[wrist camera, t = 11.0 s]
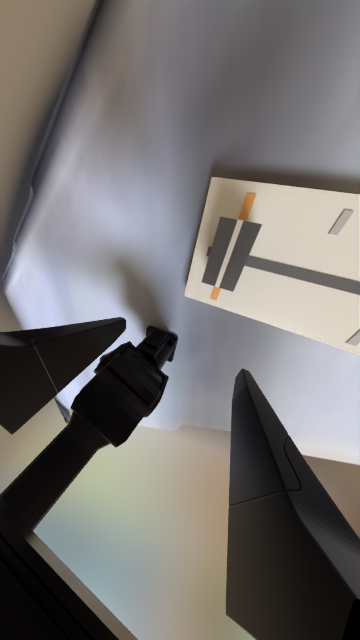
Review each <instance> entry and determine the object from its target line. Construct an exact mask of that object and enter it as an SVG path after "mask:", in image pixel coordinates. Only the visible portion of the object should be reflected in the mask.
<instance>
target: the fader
mask: <svg viewBox="0 0 360 640" xmlns="http://www.w3.org/2000/svg"><path fill="white" fill-rule="evenodd" d="M261 226H262V224H259V223H253V222H248V221H243V220H237V219H231V218H226V217H221V216H220V219H219V223H218V226H217V230H216V233H215V237H214V240H213V244H212V247H211V251H210V254H209V257H208V261H207V264H206V268H205V271H204V275H203V278H202V283H205V284H209V285H212V286H215V287H218V288H222V289H225V290H228V291H232V292H233V291H234V289H235V287H236V284H237V282H238V280H239V277H240V275H241V273H242V270H243V268H244V266H245V263H246V261H247V259H248V256H249V254H250V252H251V249H252V247H253V245H254V242H255V240H256V238H257V235H258V233H259V231H260V229H261Z"/></svg>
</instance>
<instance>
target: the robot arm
mask: <svg viewBox="0 0 360 640" xmlns="http://www.w3.org/2000/svg"><path fill="white" fill-rule="evenodd" d="M149 328H150V329H149ZM125 329H126V319H124V318H122V317H118V318H111V319H104V320H98V321H91V322H84V323H77V324H70V325H63V326H56V327H49V328H40V329H31V330H21V331H12V332H0V425H1V426H2V427H3V428H4V429H6V430H7V431H8V432H9V433H10V434H13V433H15V432H16V431H17V430H18V429H19V428H20V427H22V426H23V424H25V423H26V422H27V421H28V420H29V419H30V418H31V417H33V416H34V415H35V414H36V413H37V412H38V411H39V410H40V409H41V408H43V407H44V406H45V405H46V404H47V403H48V402H49V401H50V400H51V399H53V398H54V397H55V396H56V395H57V394H58V393H59V392H60V391H61V390H62V389H63V388H65V387H66V386H67V385H68V384H69V383H70V382H71V381H72V380H73V379H74V378H76V377H77V376H78V375H79V374H80V373H81V372H82V371H83V370H84V369H86V368H87V367H88V366H89V365H90V364H91V363H92V362H93V361H94V360H95V359H97V358H98V357H99V356H100V355H101V354H102V353H103V352H104V351H105V350H106V349H108V348H109V347H110V346H111V345H112V344H113V343H114V342H115V341H116V340H117V339H118V337H119V336H120V335H121V334H122V333H123V332H124V331H125ZM175 339H176V340H175ZM177 341H178V338H177V337H176V336H174V335H171V334H169V333H166V332H164V331H161V330H159V329H157V328H154V327H152V326H148V327H147V332H146V338H145V339H143V341H142V342H141V343H140V344H139V345H138V346H136V347H135V346H134V345H132V343H131V342H130V341H129V342H127V343H124V344H121V345H120V346H119V347H118V348H116V349H115V350H113V351H111V352H109V353H107V354H105V355H103V356H102V357H101V358H100V363H99V364H98V366H97V367H96V369H95V370H94V373H96V375H95V376H94V377H93V378H92V379H91V380H90V381H89V382H88V383H87V384H86V385H85V386H84V387H83V388H82V389H81V391H80V393H79V394H78V395H77V396H76V397H75V399H74V401H73V403H72V405H71V409H72V410H73V413H72V415H71V418H70V421H69V424H68V425H67V426H66V427H65V428H64V429H63V430H62V431H61V432H60V433H59V434H58V435H57V436H56V437H55V438H54V439H53V441H52V442H51V443H50V444H49V445H48V446H47V447H46V448H45V449H44V450H43V451H42V452H41V453H40V454H39V455H38V456H37V457H36V458H35V459H34V460H33V461H32V462H31V463H30V464H29V465H28V466H27V467H26V469H24V471H23V472H22V473H21V474H20V475H19V476H18V477H17V478H16V479H15V480H14V481H13V482H12V483H11V484H10V485H9V486H8V487H7V488H6V489H5V490H4V491H3V492H2V493H1V494H0V640H138V639H137V638H136V637H135V636H134V635H133V634H132V633H131V632H130V631H129V630H128V629H127V628H126V627H125V626H124V625H123V624H122V623H121V622H120V621H119V620H118V619H117V618H116V617H115V616H114V615H113V614H112V612H111V611H109V609H108V608H107V607H106V606H105V605H104V604H103V603H102V602H101V601H100V600H99V599H98V598H97V597H96V596H95V595H94V594H93V593H92V592H91V591H90V590H89V589H88V588H87V587H86V586H85V585H84V584H83V583H82V582H81V581H80V579H79V578H78V577H76V576H75V574H73V572H72V571H71V570H70V569H69V568H68V567H67V566H66V565H65V564H64V563H63V562H62V561H61V560H60V559H59V558H58V557H57V556H56V555H55V554H54V553H53V552H52V551H51V550H50V549H49V548H48V546H47V545H46V544H44V543H43V541H42V540H41V539H40V538H39V537H38V536H37V535H36V534H35V533H34V532H33V530H34V529H35V528H36V526H37V525H38V524H39V522H40V521H41V520H42V519H43V517H44V516H45V515H46V514H47V513H48V511H49V510H50V509H51V508H52V506H53V505H54V504H55V503H56V501H57V500H58V499H59V498H60V496H61V495H62V494H63V492H64V491H65V490H66V489H67V488H68V486H69V485H70V484H71V483H72V481H73V480H74V479H75V478H76V476H77V475H78V474H79V473H80V471H81V470H82V469H83V468H84V466H85V465H86V464H87V463H88V461H89V460H90V459H91V458H92V456H93V455H94V454H95V453H96V451H97V450H99V449H100V448H103V447H105V446H107V445H109V444H112V445H113V446H115V447H118V446H119V445H121V444H122V443H124V442H125V441H126V440H127V439H128V437H129V436H130V435H131V433H132V431H133V430H134V429H135V428H136V426H137V425H138V423H139V422H140V421H141V420H142V418H143V417H147V416H149V415H150V414H151V413H152V412H153V410H154V409H155V408H156V406H157V405H158V403H159V402H160V400H161V398H162V395H163V392H164V389H165V387H166V384H167V381H168V378H169V377H168V376H167V375H165V374H164V373H163V372H162V371H161V368H162V367H163V365H164V364H165V362H166V361H169V362H172V360H173V357H174V353H175V349H176V345H177ZM229 486H230V487H229V506H230V507H229V515H228V550H227V582H226V615H227V616H228V617H229V618H231V619H232V620H233V621H234V622H235V623H237V624H238V625H239V626H240V627H241V628H243V629H244V630H245V631H246V632H247V633H248V634H250V635H251V636H252V637H253V638H254V639H256V640H360V538H359V537H358V535H357V534H356V533H355V531H354V530H353V528H352V527H351V526H350V524H349V523H348V521H347V520H346V519H345V517H344V516H343V514H342V513H341V512H340V510H339V509H338V507H337V506H336V504H335V503H334V501H333V500H332V498H331V497H330V496H329V494H328V493H327V491H326V490H325V488H324V487H323V486H322V484H321V483H320V481H319V480H318V478H317V477H316V475H315V474H314V473H313V471H312V470H311V468H310V467H309V465H308V464H307V462H306V461H305V459H304V458H303V456H302V455H301V453H300V452H299V450H298V448H297V447H296V445H295V444H294V442H293V441H292V439H291V437H290V436H289V435H288V433H287V431H286V429H285V428H284V426H283V425H282V423H281V421H280V420H279V418H278V417H277V415H276V413H275V412H274V410H273V409H272V407H271V405H270V404H269V402H268V401H267V399H266V397H265V396H264V394H263V393H262V391H261V389H260V388H259V386H258V385H257V383H256V381H255V380H254V378H253V377H252V375H251V374H250V372H249V371H247V370H245V369H241V370H240V372H239V373H238V375H237V376H236V379H235V385H234V392H233V399H232V417H231V451H230V485H229Z"/></svg>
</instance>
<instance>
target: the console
mask: <svg viewBox="0 0 360 640" xmlns="http://www.w3.org/2000/svg"><path fill="white" fill-rule="evenodd" d="M220 216H221V217H226V218H231V219H237V220H243V221H248V222H253V223H259V224H262V226H261V229H260V231H259V233H258V235H257V238H256V240H255V242H254V245H253V247H252V249H251V252H250V254H249V256H248V259H247V261H246V263H245V266H244V268H243V270H242V273H241V275H240V277H239V280H238V282H237V284H236V287H235V289H234V291H233V292H232V291H228V290H225V289H222V288H218V287H215V286H212V285H209V284H205V283H202V278H203V275H204V271H205V268H206V264H207V261H208V257H209V254H210V251H211V247H212V244H213V240H214V237H215V233H216V230H217V226H218V223H219V219H220ZM184 296H186V297H189V298H192V299H195V300H198V301H201V302H204V303H207V304H210V305H213V306H216V307H219V308H222V309H225V310H228V311H231V312H234V313H237V314H240V315H243V316H246V317H249V318H252V319H255V320H258V321H261V322H264V323H267V324H270V325H273V326H276V327H279V328H282V329H285V330H287V331H290V332H293V333H296V334H299V335H302V336H305V337H308V338H311V339H314V340H317V341H320V342H323V343H326V344H329V345H332V346H335V347H338V348H341V349H344V350H347V351H350V352H353V353H356V354H359V355H360V194H351V193H343V192H335V191H326V190H318V189H310V188H301V187H293V186H285V185H276V184H268V183H260V182H251V181H243V180H235V179H226V178H218V177H212V179H211V183H210V187H209V191H208V196H207V200H206V204H205V209H204V213H203V217H202V221H201V226H200V230H199V234H198V239H197V243H196V247H195V251H194V256H193V260H192V264H191V269H190V273H189V277H188V281H187V286H186V290H185V294H184Z"/></svg>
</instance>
